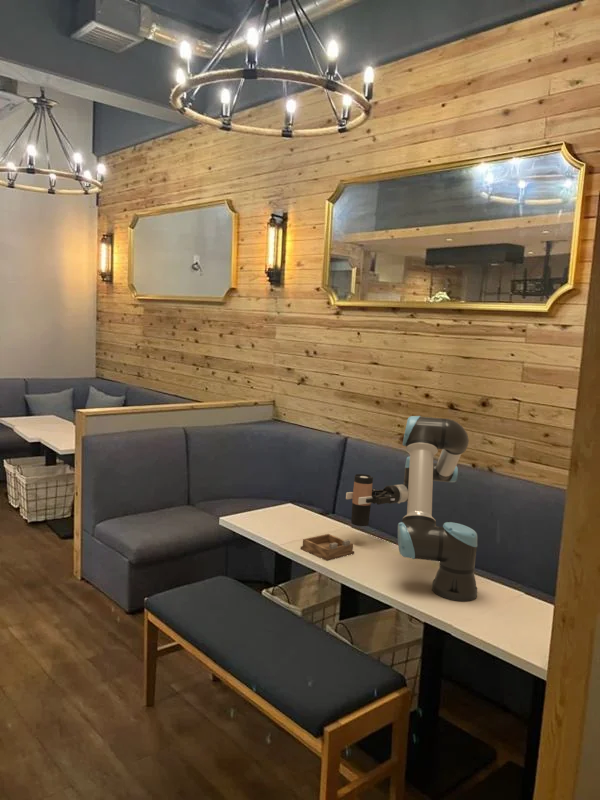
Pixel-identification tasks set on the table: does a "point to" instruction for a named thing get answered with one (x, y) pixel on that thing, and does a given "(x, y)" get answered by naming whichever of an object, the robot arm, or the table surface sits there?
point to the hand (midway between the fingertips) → (352, 498)
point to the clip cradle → (327, 547)
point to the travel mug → (361, 490)
